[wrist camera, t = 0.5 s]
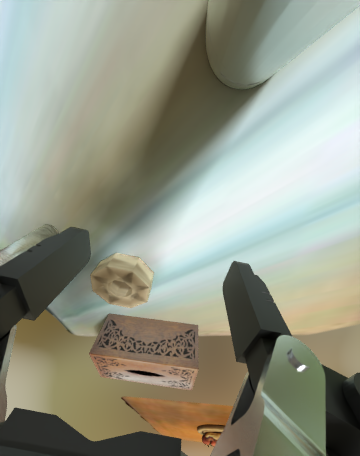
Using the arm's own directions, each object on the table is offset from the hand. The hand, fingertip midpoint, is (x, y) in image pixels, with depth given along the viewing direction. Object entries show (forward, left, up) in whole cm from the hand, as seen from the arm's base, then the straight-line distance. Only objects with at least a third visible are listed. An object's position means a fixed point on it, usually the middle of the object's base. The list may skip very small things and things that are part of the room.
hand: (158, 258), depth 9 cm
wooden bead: (+24, -8, -18) cm, 31 cm away
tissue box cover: (+47, 0, -19) cm, 51 cm away
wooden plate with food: (+156, +59, -19) cm, 167 cm away
